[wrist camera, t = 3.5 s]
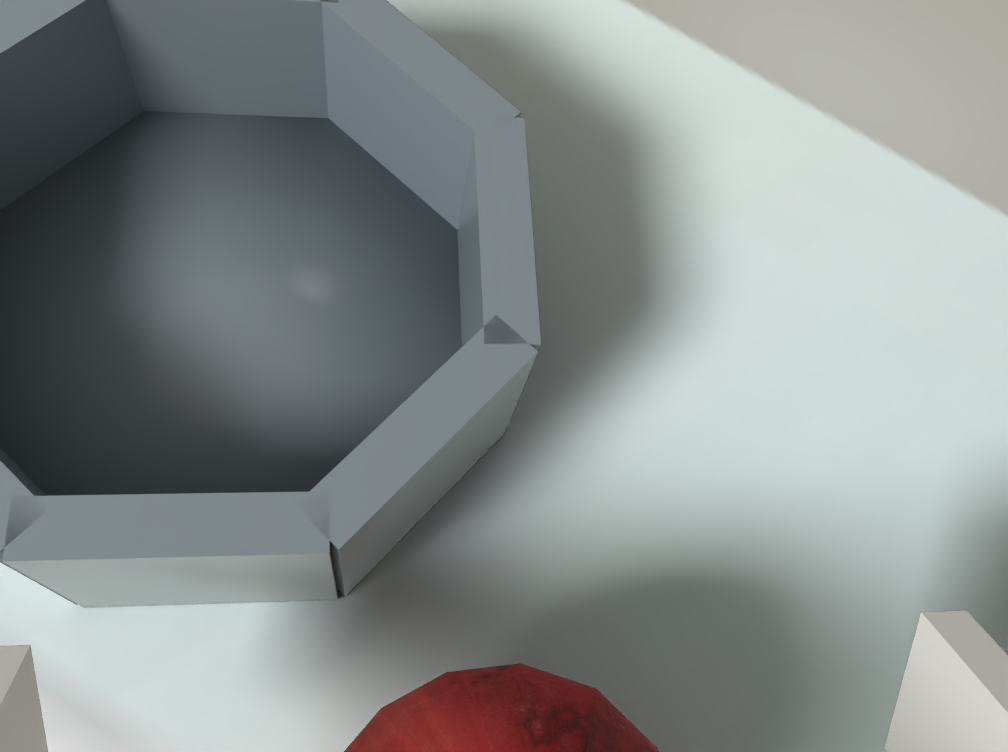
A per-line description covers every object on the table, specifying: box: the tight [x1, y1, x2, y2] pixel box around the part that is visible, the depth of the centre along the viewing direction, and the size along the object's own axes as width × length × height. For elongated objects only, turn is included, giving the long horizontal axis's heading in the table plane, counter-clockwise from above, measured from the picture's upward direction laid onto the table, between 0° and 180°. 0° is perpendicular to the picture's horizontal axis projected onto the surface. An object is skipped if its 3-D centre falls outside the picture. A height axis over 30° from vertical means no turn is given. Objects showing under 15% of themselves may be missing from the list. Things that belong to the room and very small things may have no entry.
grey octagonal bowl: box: [0, 0, 541, 608], centre depth 19 cm, size 12×12×4 cm
